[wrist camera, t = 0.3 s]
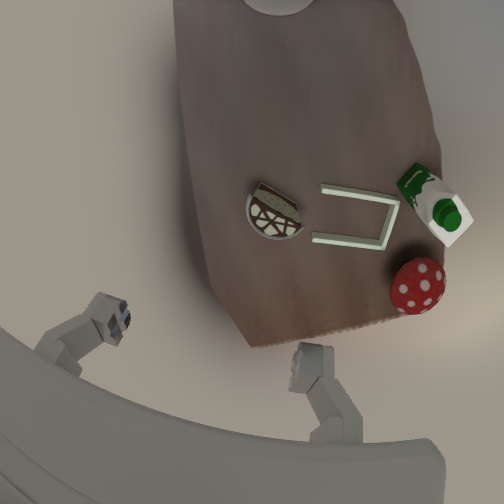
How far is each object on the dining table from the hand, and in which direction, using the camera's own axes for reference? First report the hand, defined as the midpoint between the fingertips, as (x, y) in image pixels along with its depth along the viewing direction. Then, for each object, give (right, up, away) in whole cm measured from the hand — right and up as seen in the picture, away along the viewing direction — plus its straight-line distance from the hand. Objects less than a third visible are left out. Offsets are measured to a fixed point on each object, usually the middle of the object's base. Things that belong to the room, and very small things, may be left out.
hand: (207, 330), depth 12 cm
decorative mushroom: (+43, 0, +53) cm, 68 cm away
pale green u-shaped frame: (+25, +12, +47) cm, 54 cm away
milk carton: (+39, +19, +40) cm, 59 cm away
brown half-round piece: (+6, +14, +48) cm, 50 cm away
